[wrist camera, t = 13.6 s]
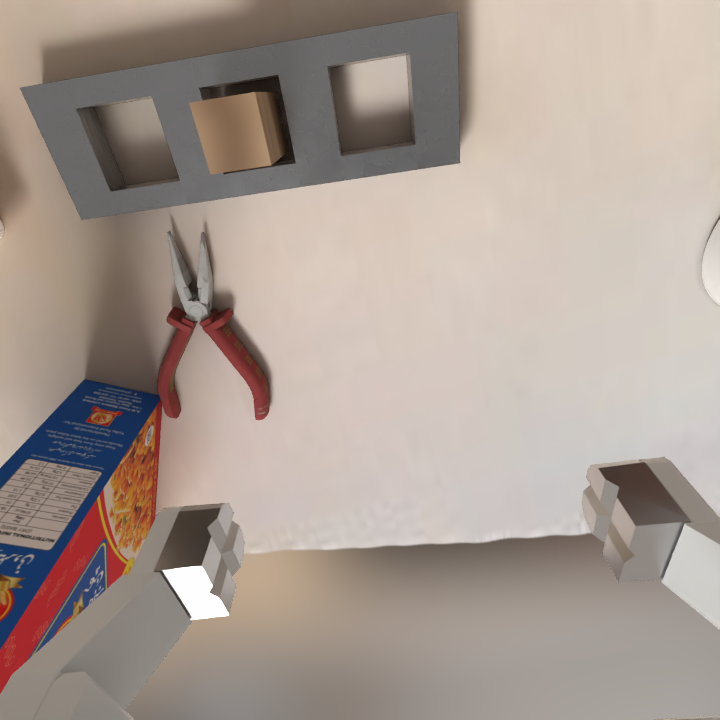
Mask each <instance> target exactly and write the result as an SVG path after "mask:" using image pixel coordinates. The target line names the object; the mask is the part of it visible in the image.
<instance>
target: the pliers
mask: <svg viewBox="0 0 720 720" xmlns="http://www.w3.org/2000/svg"><path fill="white" fill-rule="evenodd" d="M168 238H169V245H170V252H171V259H172V266H173V273H174V280H175V284H176V288H177V291H178V294H179V297H180V299H181V302H182V304H183V307H184V309H185V311H183V310H181V309H178V308H176V307H174V308H173V309H172V310H171V312H170V313H169V314H168V317H167V322H168V323H169V324H170V325H172V326H175V327H177V330H176V332H175V335H174V337H173V339H172V342H171V344H170V346H169V349H168V351H167V353H166V356H165V358H164V361H163V363H162V365H161V368H160V371H159V375H158V381H157V389H158V393H159V396H160V399H161V402H162V405H163V408H164V411H165V413H166V415H167V416H169V417H171V418H177V417H178V416H179V414H180V412H181V408H180V404H179V400H178V397H177V393H176V389H175V384H174V377H175V372H176V368H177V366H178V364H179V362H180V359H181V357H182V355H183V353H184V351H185V348H186V346H187V344H188V342H189V340H190V337H191V335H192V333H193V331H194V329H195V326H196V324H197V322H198V321H201V322H200V323H199V324H200V325H201V326H202V327H203V330H204V331H205V332H206V333H207V334H208V335H209V336H210V337H211V339H212V340H213V341H214V342H215V343H216V345H217V346H218V347H219V348H220V350H221V351H222V352H223V353H224V355H225V356H226V357H227V358H228V360H229V361H230V362H231V363H232V365H233V366H234V367H235V368H236V370H237V371H238V372H239V373H240V375H241V376H242V377H243V378H244V380H245V381H246V382H247V384H248V386H249V387H250V389H251V391H252V394H253V398H254V408H255V418H256V420H262V419H264V418H265V417H266V416H267V414H268V412H269V390H268V383H267V380H266V378H265V376H264V374H263V372H262V370H261V369H260V367H259V366H258V364H257V363H256V362H255V360H254V359H253V358H252V356H251V355H250V354H249V353H248V351H247V350H246V349H245V347H244V346H243V345H242V343H241V342H240V341H239V340H238V338H237V337H236V336H235V334H234V333H233V332H232V330H231V329H230V328H229V327H228V325H227V324H226V323H227V322H228V321H229V320H230V318H231V317H232V315H233V312H232V311H231V309H230V308H228V309H226V310H224V311H222V312H220V313H219V312H218V311H217V310H216V309H214V310H212V299H213V277H212V272H211V266H210V261H209V256H208V251H207V246H206V241H205V236H204V232H202V233H201V243H200V255H199V266H198V279H197V288H198V294H196V293H193V292H191V291H190V290H189V288H188V285H189V284H190V283H191V282H192V278H191V276H190V273H189V270H188V268H187V266H186V264H185V262H184V259H183V257H182V255H181V253H180V251H179V249H178V247H177V244H176V242H175V240H174V238H173V236H172V234H171V232H170V231H169V232H168ZM211 310H212V311H211Z"/></svg>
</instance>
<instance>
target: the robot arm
mask: <svg viewBox="0 0 720 720" xmlns="http://www.w3.org/2000/svg"><path fill="white" fill-rule="evenodd" d="M702 277H703V282H704V286H705V288H706V290H707V292H708V294H709V295H710V297H711V298H712V299H713V300H714V301H715V302H716V303H717V304H719V305H720V220H719V221H718V223H717V224H716V226H715V228H714V230H713V231H712V233H711V236H710V238H709V240H708V243H707V245H706V248H705V252H704V256H703V262H702ZM586 478H587V480H588V481H589V483H590V486H589V487H588V488H587V489H585V490H584V491H583V498H582V506H583V512H584V516H585V519H586V522H587V524H588V526H589V528H590V530H591V532H592V534H593V535H595V536H596V537H597V538H599V539H600V540H601V541H603V542H604V543H605V545H604V549H603V555H604V557H605V558H606V560H607V562H608V564H609V566H610V567H611V569H612V571H613V573H614V575H615V577H616V579H617V580H618V582H634V581H635V582H636V581H654V580H662V583H663V584H664V585H666V586H667V587H668V588H669V589H671V590H672V591H673V592H674V593H675V594H677V595H678V596H679V597H680V598H682V599H683V600H684V601H685V602H687V603H688V604H689V605H690V606H691V607H693V608H694V609H695V610H696V611H698V612H699V613H700V614H701V615H703V616H704V617H705V618H706V619H707V620H709V621H710V622H711V623H712V624H714V625H715V626H716V627H717V628H718V629H720V517H719V516H718V515H717V514H716V513H715V512H714V511H713V509H712V508H711V507H710V506H709V505H708V504H707V502H706V501H705V500H704V499H703V498H702V497H701V496H700V494H699V493H698V492H697V491H696V490H695V489H694V487H693V486H692V485H691V484H690V483H689V482H688V481H687V479H686V478H685V477H684V476H683V475H682V474H681V472H680V471H679V470H678V469H677V468H676V467H675V466H674V464H673V463H672V462H671V461H670V460H668V459H667V458H665V457H661V458H651V459H642V460H630V461H621V462H613V463H604V464H595V465H591V466H590V467H589V468H588V471H587V475H586ZM233 514H234V512H233V510H232V508H231V506H230V504H229V503H220V504H206V505H193V506H183V507H171V508H163V509H162V510H161V511H160V512H159V513H158V514H157V516H156V518H155V520H154V522H153V525H152V527H151V529H150V531H149V533H148V535H147V537H146V539H145V541H144V543H143V545H142V548H141V550H140V552H139V554H138V556H137V558H136V560H135V562H134V564H133V566H132V568H131V571H130V573H129V574H127V575H122V576H121V577H120V578H118V579H117V580H116V581H115V582H114V583H113V584H112V585H111V586H110V587H109V588H107V589H106V590H105V591H104V592H103V593H102V594H101V595H100V596H99V597H97V598H96V599H95V600H94V601H93V602H92V603H91V604H90V605H89V606H87V607H86V608H85V609H84V610H83V611H82V612H81V613H80V614H79V615H77V616H76V617H75V618H74V619H73V620H72V621H71V622H70V623H69V624H68V625H66V626H65V627H64V628H63V629H62V630H61V631H60V632H59V633H58V634H56V635H55V636H54V637H53V638H52V639H51V640H50V641H49V642H48V643H46V644H45V645H44V646H43V647H42V648H41V649H40V650H39V651H38V652H37V653H35V654H34V655H33V656H32V657H31V658H30V659H29V660H28V661H27V662H25V663H24V664H23V665H22V666H21V667H20V668H19V669H18V670H17V671H15V672H14V673H13V674H12V675H11V677H10V679H9V681H8V682H7V684H6V686H5V687H4V689H3V691H2V692H1V694H0V720H134V719H133V718H132V717H131V716H130V715H129V714H128V713H127V712H126V711H125V710H126V708H127V707H128V706H129V704H130V703H131V702H132V700H133V699H134V698H135V696H136V695H137V694H138V693H139V691H140V690H141V689H142V687H143V686H144V685H145V683H146V682H147V681H148V679H149V678H150V677H151V675H152V674H153V673H154V671H155V670H156V669H157V667H158V666H159V665H160V663H161V662H162V661H163V659H164V658H165V657H166V655H167V654H168V653H169V651H170V650H171V649H172V647H173V646H174V645H175V643H176V642H177V641H178V640H179V638H180V637H181V636H182V634H183V633H184V632H185V630H186V629H187V628H188V626H189V625H190V624H191V622H192V621H191V620H192V619H201V618H209V617H217V616H227V615H229V612H230V608H231V604H232V601H233V597H234V593H235V588H236V584H235V582H234V580H233V578H232V576H233V575H234V574H235V573H236V572H237V570H238V569H239V568H240V567H241V564H242V559H243V555H244V539H243V533H242V530H241V528H240V526H239V525H238V524H237V523H235V522H233V521H232V517H233ZM655 720H720V715H719V716H703V717H688V718H671V719H655Z"/></svg>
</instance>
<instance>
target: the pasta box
mask: <svg viewBox="0 0 720 720" xmlns="http://www.w3.org/2000/svg"><path fill="white" fill-rule="evenodd" d="M161 414H162V402H161V399H160V396H159V395H155V394H150V393H145V392H141V391H136V390H132V389H127V388H122V387H118V386H113V385H108V384H104V383H99V382H94V381H90V380H84V381H83V382H82V383H81V384H80V385H79V386H78V387H77V388H76V389H75V390H74V391H73V392H72V393H71V394H70V395H69V396H68V398H67V399H66V400H65V401H64V402H63V403H62V404H61V405H60V406H59V407H58V408H57V409H56V410H55V411H54V412H53V413H52V414H51V415H50V416H49V418H48V419H47V420H46V421H45V422H44V423H43V424H42V425H41V426H40V427H39V428H38V429H37V430H36V431H35V432H34V433H33V434H32V435H31V437H30V438H29V439H28V440H27V441H26V442H25V443H24V444H23V445H22V446H21V447H20V448H19V449H18V450H17V451H16V452H15V453H14V454H13V456H12V457H11V458H10V459H9V460H8V461H7V462H6V463H5V464H4V465H3V466H2V467H1V468H0V694H1V692H2V691H3V689H4V687H5V686H6V684H7V682H8V681H9V679H10V677H11V675H12V674H13V673H14V672H15V671H17V670H18V669H19V668H20V667H21V666H22V665H23V664H24V663H25V662H27V661H28V660H29V659H30V658H31V657H32V656H33V655H34V654H35V653H37V652H38V651H39V650H40V649H41V648H42V647H43V646H44V645H45V644H46V643H48V642H49V641H50V640H51V639H52V638H53V637H54V636H55V635H56V634H58V633H59V632H60V631H61V630H62V629H63V628H64V627H65V626H66V625H68V624H69V623H70V622H71V621H72V620H73V619H74V618H75V617H76V616H77V615H79V614H80V613H81V612H82V611H83V610H84V609H85V608H86V607H87V606H89V605H90V604H91V603H92V602H93V601H94V600H95V599H96V598H97V597H99V596H100V595H101V594H102V593H103V592H104V591H105V590H106V589H107V588H109V587H110V586H111V585H112V584H113V583H114V582H115V581H116V580H117V579H118V578H120V577H121V576H122V575H127V574H129V573H130V571H131V568H132V566H133V564H134V562H135V560H136V558H137V556H138V554H139V552H140V550H141V548H142V545H143V543H144V541H145V539H146V537H147V535H148V533H149V531H150V529H151V527H152V525H153V522H154V520H155V510H156V494H157V478H158V462H159V446H160V430H161Z"/></svg>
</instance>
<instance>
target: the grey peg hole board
mask: <svg viewBox="0 0 720 720" xmlns="http://www.w3.org/2000/svg"><path fill="white" fill-rule="evenodd" d="M403 55H406V58H407V73H408V88H409V103H410V117H411V132H412V141H411V142H405V143H398V144H392V145H386V146H379V147H373V148H366V149H360V150H353V151H347V152H342V151H341V145H340V138H339V131H338V124H337V117H336V110H335V104H334V97H333V90H332V83H331V76H330V69H329V68H332V67H338V66H344V65H350V64H356V63H362V62H368V61H374V60H380V59H386V58H391V57H397V56H403ZM273 77H279V81H280V86H281V91H282V96H283V101H284V106H285V111H286V116H287V121H288V126H289V131H290V136H291V141H292V146H293V151H294V156H295V160H289V161H282V162H276V163H274V164H272V165H270V166H264V167H257V168H251V169H244V170H238V171H231V172H224V173H218V174H211V175H210V171H209V168H208V165H207V161H206V158H205V154H204V151H203V148H202V144H201V141H200V138H199V134H198V131H197V128H196V124H195V121H194V117H193V114H192V111H191V107H190V104H189V103H190V102H197V101H203V100H209V99H212V96H211V92H210V89H209V88H213V87H219V86H225V85H231V84H237V83H243V82H249V81H255V80H261V79H267V78H273ZM20 89H21V91H22V94H23V96H24V98H25V100H26V102H27V104H28V106H29V108H30V111H31V113H32V115H33V117H34V119H35V121H36V123H37V126H38V128H39V130H40V132H41V134H42V136H43V138H44V140H45V143H46V145H47V147H48V149H49V151H50V153H51V155H52V157H53V160H54V162H55V164H56V166H57V168H58V170H59V172H60V175H61V177H62V179H63V181H64V183H65V185H66V187H67V189H68V192H69V194H70V196H71V198H72V200H73V202H74V204H75V206H76V209H77V211H78V213H79V215H80V217H81V219H82V220H84V219H91V218H97V217H104V216H111V215H117V214H124V213H131V212H137V211H144V210H151V209H157V208H164V207H171V206H177V205H184V204H191V203H197V202H204V201H211V200H217V199H224V198H231V197H237V196H244V195H251V194H257V193H264V192H271V191H277V190H284V189H291V188H297V187H304V186H311V185H317V184H324V183H331V182H337V181H344V180H351V179H357V178H364V177H371V176H377V175H384V174H390V173H397V172H404V171H410V170H417V169H424V168H430V167H437V166H444V165H450V164H457V163H460V133H459V69H458V12H453V13H448V14H442V15H436V16H430V17H425V18H419V19H413V20H407V21H402V22H396V23H390V24H384V25H379V26H373V27H367V28H361V29H356V30H350V31H344V32H338V33H332V34H327V35H321V36H315V37H309V38H304V39H298V40H292V41H286V42H281V43H275V44H269V45H263V46H258V47H252V48H246V49H240V50H235V51H229V52H223V53H217V54H212V55H206V56H200V57H194V58H189V59H183V60H177V61H171V62H166V63H160V64H154V65H148V66H143V67H137V68H131V69H125V70H120V71H114V72H108V73H102V74H97V75H91V76H85V77H79V78H74V79H68V80H62V81H56V82H51V83H45V84H39V85H33V86H28V87H22V88H20ZM148 98H153V101H154V104H155V107H156V110H157V113H158V116H159V119H160V122H161V125H162V128H163V131H164V134H165V137H166V140H167V143H168V146H169V149H170V152H171V155H172V158H173V161H174V164H175V167H176V170H177V173H178V176H179V178H172V179H166V180H159V181H153V182H146V183H140V184H133V185H127V186H125V184H124V181H123V179H122V176H121V174H120V171H119V169H118V166H117V164H116V161H115V159H114V156H113V154H112V151H111V149H110V146H109V144H108V141H107V139H106V136H105V134H104V131H103V129H102V126H101V124H100V121H99V119H98V116H97V114H96V111H95V109H94V108H95V107H100V106H106V105H112V104H118V103H124V102H130V101H136V100H142V99H148Z"/></svg>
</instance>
